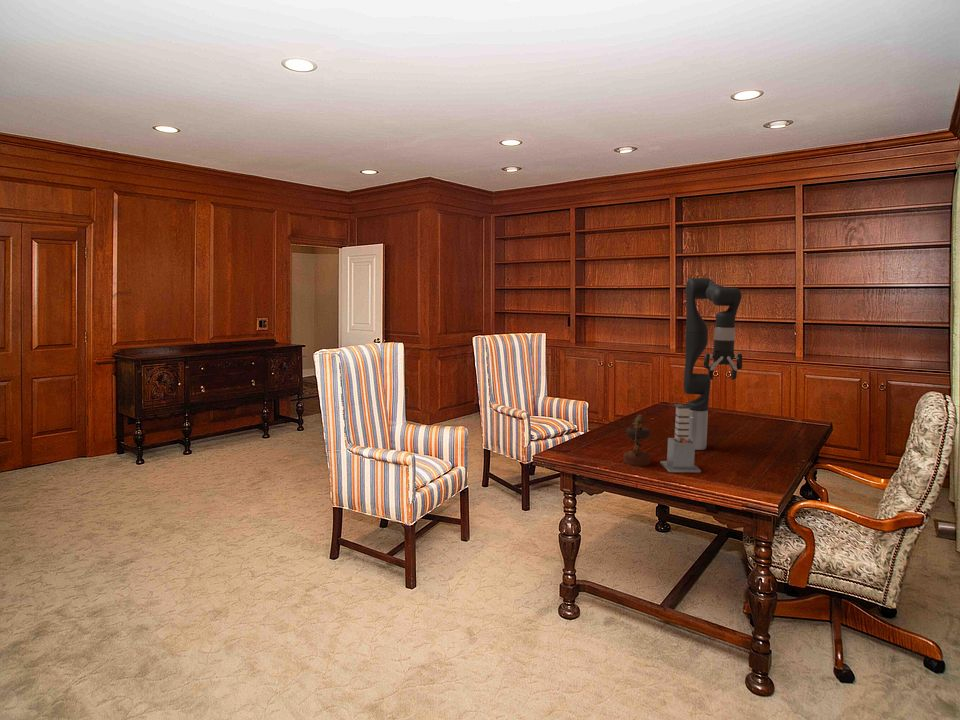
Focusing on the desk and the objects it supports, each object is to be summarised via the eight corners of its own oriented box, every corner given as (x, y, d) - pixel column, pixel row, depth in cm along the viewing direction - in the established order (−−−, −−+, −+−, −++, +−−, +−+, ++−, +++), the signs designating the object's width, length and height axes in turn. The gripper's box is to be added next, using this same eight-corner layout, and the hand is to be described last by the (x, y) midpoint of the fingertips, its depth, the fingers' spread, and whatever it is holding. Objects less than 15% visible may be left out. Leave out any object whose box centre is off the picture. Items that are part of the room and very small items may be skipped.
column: (672, 450, 235) (674, 404, 233) (685, 450, 235) (687, 404, 233) (676, 454, 230) (678, 406, 228) (689, 454, 230) (691, 406, 228)
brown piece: (652, 467, 233) (650, 417, 231) (624, 468, 235) (621, 418, 233) (650, 457, 248) (647, 410, 246) (623, 458, 250) (620, 411, 248)
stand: (660, 463, 239) (661, 433, 238) (690, 463, 239) (691, 434, 238) (669, 472, 227) (670, 441, 226) (700, 472, 227) (702, 441, 226)
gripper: (738, 338, 236) (736, 378, 238) (702, 337, 237) (700, 378, 239) (746, 339, 229) (744, 381, 231) (709, 339, 229) (707, 381, 231)
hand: (721, 379), depth 235 cm, fingers open, 8 cm apart
